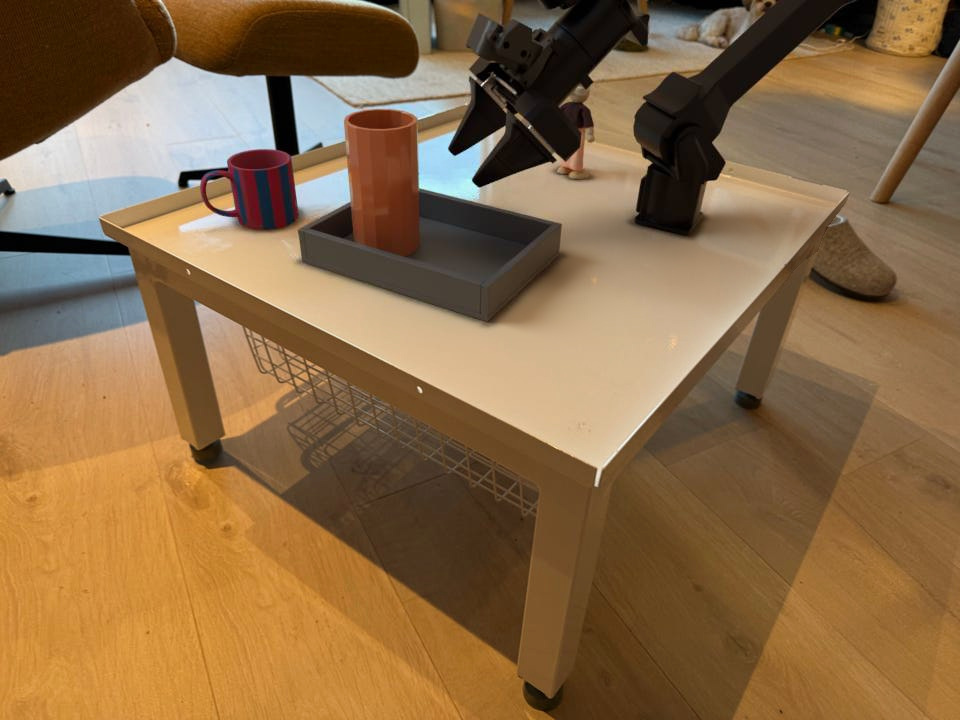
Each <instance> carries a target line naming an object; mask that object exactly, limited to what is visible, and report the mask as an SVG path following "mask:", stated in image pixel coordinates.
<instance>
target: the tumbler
mask: <svg viewBox="0 0 960 720" xmlns="http://www.w3.org/2000/svg"><path fill="white" fill-rule="evenodd" d="M418 121H419V119H418V117H417V115H415V114H413V113H411V112H408V111H405V110H400V109H393V108H369V109H361V110H359V111H354V112H351V113H350V114H348V115H345V117H344V118H343V128H344V137H345V138H344V139H345V151H346V152H345V153H346V163H347V176H348V188H349V198H350V199H349V201H350V202H351V212H352V224H353V236H354V241H355V242H356V243H359V244H363V245H366V246H369V247H373V248H376V249H379V250H383V251H386V252H389V253H393V254H396V255H399V256H403V257H406V256H408V255H411V254H413V253H414V252H416V251H417V250H418V249H419V247H420V203H419V188H420V165H419V163H420V162H419V133H418V132H419V125H418Z"/></svg>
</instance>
